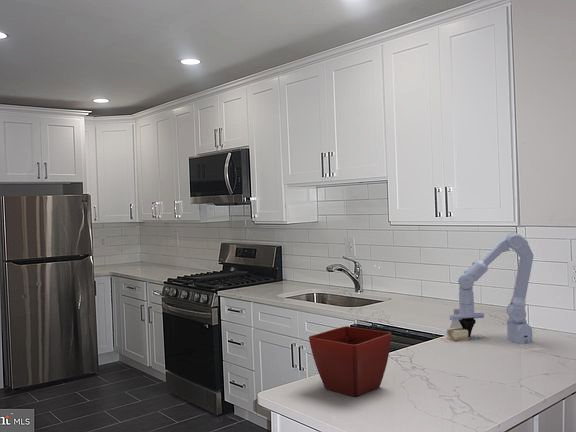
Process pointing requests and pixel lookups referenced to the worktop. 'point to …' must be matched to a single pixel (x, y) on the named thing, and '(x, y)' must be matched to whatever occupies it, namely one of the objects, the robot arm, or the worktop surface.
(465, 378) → the worktop surface
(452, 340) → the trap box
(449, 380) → the worktop surface
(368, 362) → the plant pot
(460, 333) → the birch block
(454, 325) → the flask
